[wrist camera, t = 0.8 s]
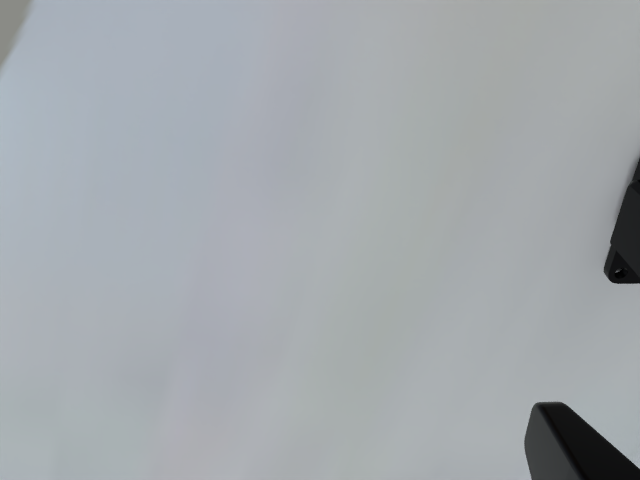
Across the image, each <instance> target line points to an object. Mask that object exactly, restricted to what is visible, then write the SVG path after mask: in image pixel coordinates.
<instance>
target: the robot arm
mask: <svg viewBox="0 0 640 480" xmlns="http://www.w3.org/2000/svg"><path fill="white" fill-rule="evenodd" d="M610 243H611V244H612V245H611V248H610V251H609V254H608V257H607V260H606V263H605V266H604V273H605V275H606V276H607V278H608V279H609V280H610V281H611V282H613V283H617V284H635V283H640V159H639V162H638V165H637V168H636V171H635V174H634V177H633V180H632V182H631V183H630V185H629V186H628V188H627V191H626V194H625V197H624V200H623V203H622V206H621V209H620V212H619V215H618V219H617V222H616V225H615V228H614V231H613V234H612V237H611V240H610ZM620 268H622V270H621V271H619V272H616V270H618V269H620ZM615 272H616V273H615ZM524 445H525V454H526V458H527V462H528V466H529V470H530V474H531V478H532V480H640V469H639V468H638V467H637V466H636V465H634V464H633V463H632V462H631V461H630V460H629V459H628V458H626V457H625V456H624V455H623V454H622V453H621V452H620V451H619V450H617V449H616V448H615V447H614V446H613V445H612V444H611V443H609V442H608V441H607V440H606V439H605V438H604V437H603V436H601V435H600V434H599V433H598V432H597V431H596V430H595V429H593V428H592V427H591V426H590V425H589V424H588V423H587V422H585V421H584V420H583V419H582V418H581V417H580V416H579V415H577V414H576V413H575V412H574V411H573V410H572V409H571V408H570V407H568V406H567V405H566V404H564V403H562V402H538V403H536V404H535V405H534V406H533V408H532V411H531V415H530V419H529V423H528V427H527V431H526V435H525V441H524Z"/></svg>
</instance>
